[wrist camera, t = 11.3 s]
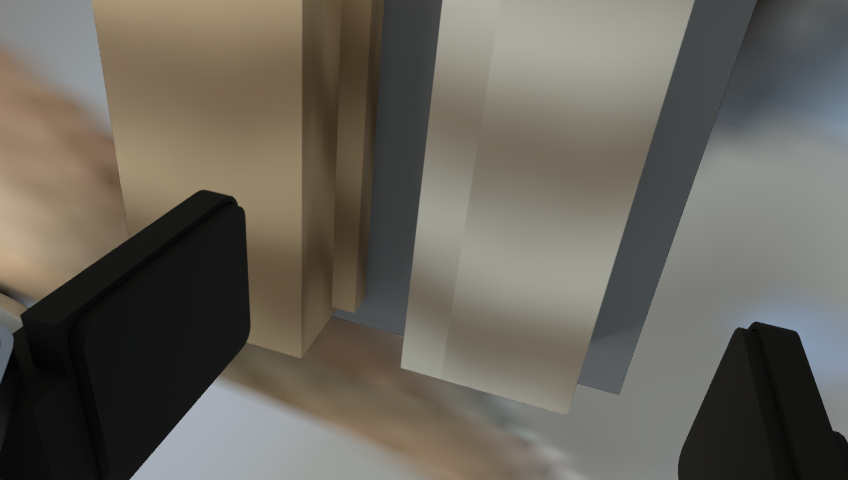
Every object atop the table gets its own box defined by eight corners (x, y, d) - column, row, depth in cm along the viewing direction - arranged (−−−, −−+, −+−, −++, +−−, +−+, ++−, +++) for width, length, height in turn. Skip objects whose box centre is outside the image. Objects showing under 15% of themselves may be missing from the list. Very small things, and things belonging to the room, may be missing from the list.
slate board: (619, 370, 27) (619, 394, 26) (200, 259, 31) (181, 275, 30) (849, -300, 16) (867, -316, 14) (143, -341, 20) (110, -356, 18)
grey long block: (576, 344, 25) (567, 415, 22) (431, 306, 26) (400, 367, 23) (740, -211, 16) (767, -236, 13) (505, -233, 17) (472, -261, 14)
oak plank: (364, 306, 27) (325, 365, 24) (198, 262, 29) (140, 312, 26) (403, -291, 17) (345, -334, 14) (144, -310, 19) (36, -351, 15)
